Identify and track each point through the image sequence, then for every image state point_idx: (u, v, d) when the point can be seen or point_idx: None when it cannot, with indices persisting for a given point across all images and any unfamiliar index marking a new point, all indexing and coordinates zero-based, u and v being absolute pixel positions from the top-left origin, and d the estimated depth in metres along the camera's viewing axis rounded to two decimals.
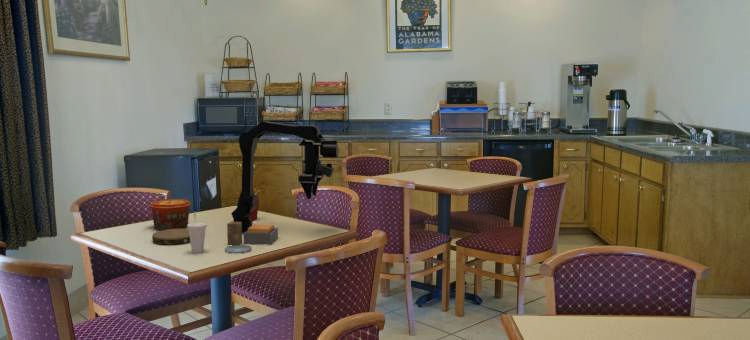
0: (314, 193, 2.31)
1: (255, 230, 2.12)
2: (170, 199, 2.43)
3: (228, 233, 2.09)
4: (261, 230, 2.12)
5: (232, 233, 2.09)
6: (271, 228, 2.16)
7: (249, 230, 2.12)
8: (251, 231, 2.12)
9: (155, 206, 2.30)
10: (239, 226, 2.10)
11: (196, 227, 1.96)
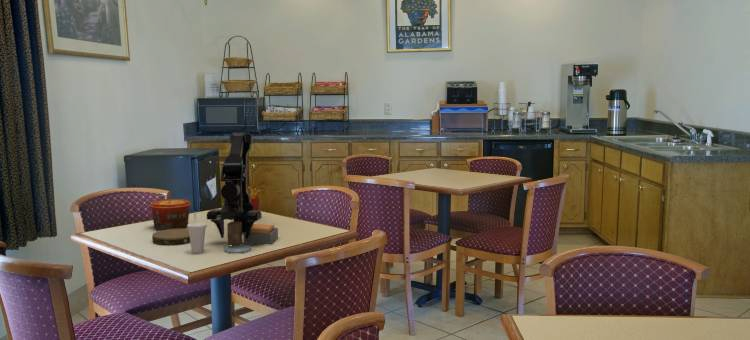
0: None
1: (255, 230, 2.12)
2: (170, 199, 2.43)
3: (228, 233, 2.09)
4: (261, 230, 2.12)
5: (232, 233, 2.09)
6: (271, 228, 2.16)
7: None
8: (251, 231, 2.12)
9: (155, 206, 2.30)
10: (239, 226, 2.10)
11: (196, 227, 1.96)
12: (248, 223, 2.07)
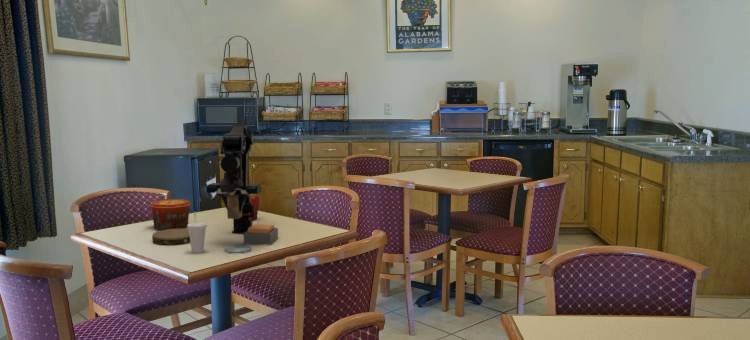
0: None
1: (255, 230, 2.12)
2: (170, 199, 2.43)
3: (228, 206, 2.08)
4: (261, 230, 2.12)
5: (232, 206, 2.08)
6: (271, 228, 2.16)
7: (249, 230, 2.12)
8: (251, 231, 2.12)
9: (155, 206, 2.30)
10: (239, 199, 2.09)
11: (196, 227, 1.96)
12: (241, 196, 2.06)
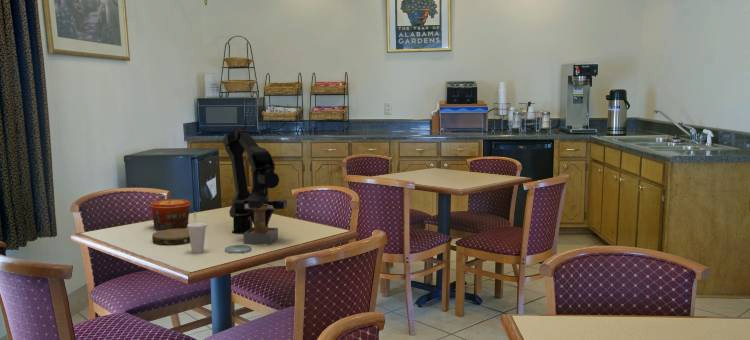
0: None
1: None
2: (170, 199, 2.43)
3: (255, 221, 2.14)
4: None
5: (258, 220, 2.14)
6: None
7: None
8: None
9: (155, 206, 2.30)
10: (265, 214, 2.15)
11: (196, 227, 1.96)
12: (268, 211, 2.12)
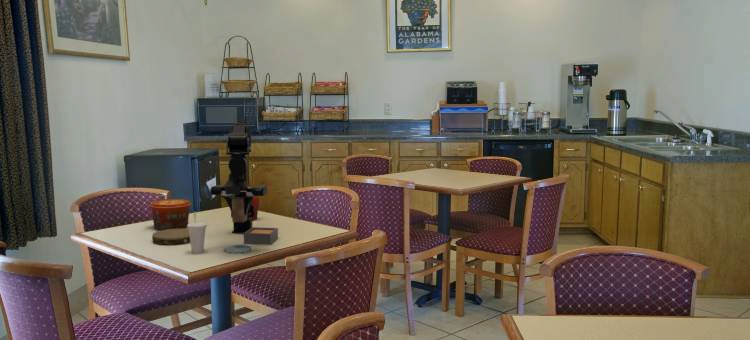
0: None
1: None
2: (170, 199, 2.43)
3: (233, 209, 2.00)
4: None
5: (237, 208, 2.00)
6: None
7: None
8: None
9: (155, 206, 2.30)
10: (244, 201, 2.01)
11: (196, 227, 1.96)
12: (247, 198, 1.99)
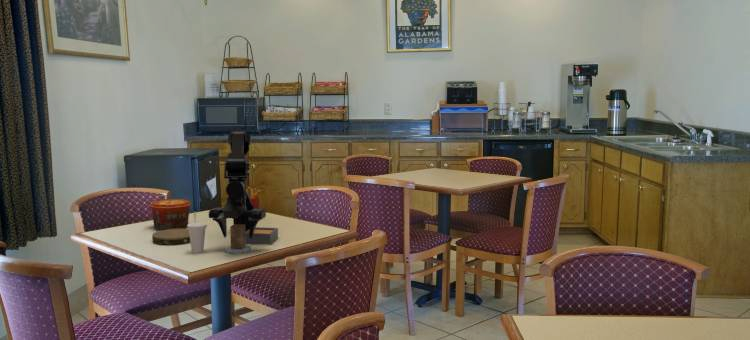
0: None
1: None
2: (170, 199, 2.43)
3: (231, 236, 2.01)
4: None
5: (235, 236, 2.01)
6: None
7: None
8: None
9: (155, 206, 2.30)
10: (243, 229, 2.02)
11: (196, 227, 1.96)
12: (252, 222, 1.99)
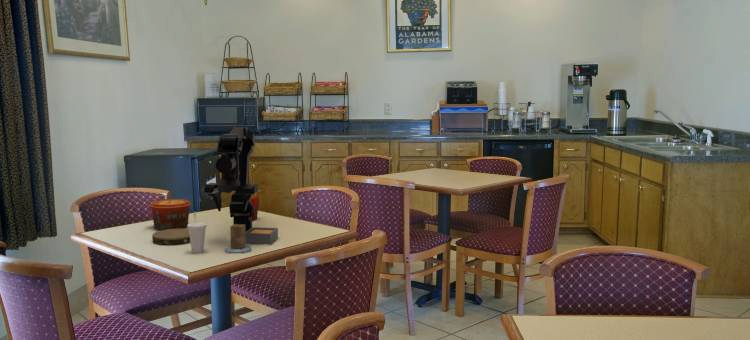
0: None
1: None
2: (170, 199, 2.43)
3: (231, 236, 2.01)
4: None
5: (235, 236, 2.01)
6: None
7: None
8: None
9: (155, 206, 2.30)
10: (243, 229, 2.02)
11: (196, 227, 1.96)
12: (245, 196, 2.09)
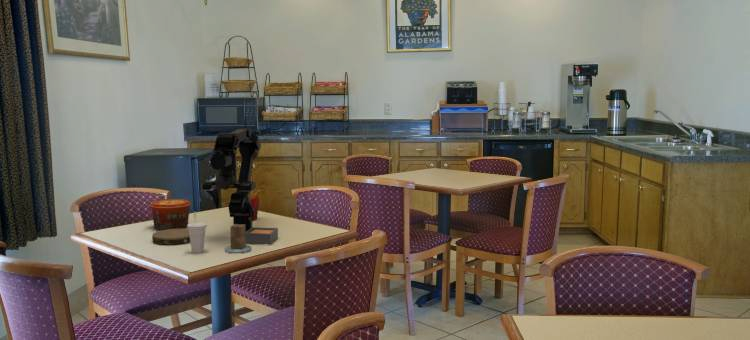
0: None
1: None
2: (170, 199, 2.43)
3: (231, 236, 2.01)
4: None
5: (235, 236, 2.01)
6: None
7: None
8: None
9: (155, 206, 2.30)
10: (243, 229, 2.02)
11: (196, 227, 1.96)
12: (242, 193, 2.13)
